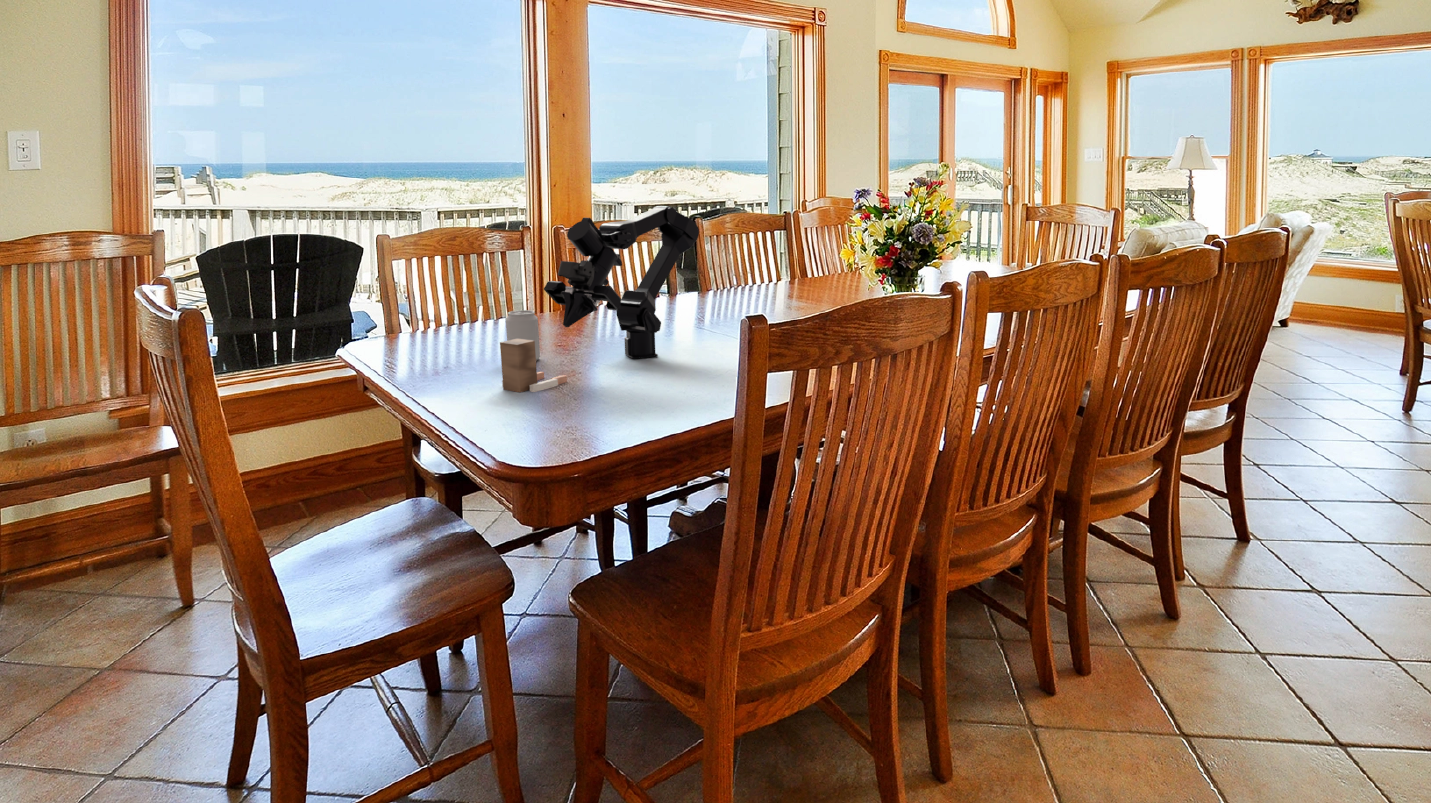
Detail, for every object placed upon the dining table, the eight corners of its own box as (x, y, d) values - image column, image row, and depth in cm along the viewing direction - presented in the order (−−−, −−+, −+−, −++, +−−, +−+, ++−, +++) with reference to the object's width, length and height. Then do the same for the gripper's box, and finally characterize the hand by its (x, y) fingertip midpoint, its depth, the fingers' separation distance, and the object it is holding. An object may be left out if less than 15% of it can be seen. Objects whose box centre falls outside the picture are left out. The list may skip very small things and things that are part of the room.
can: (533, 365, 224) (530, 314, 221) (503, 364, 226) (499, 313, 223) (545, 358, 231) (542, 309, 228) (515, 357, 233) (512, 308, 230)
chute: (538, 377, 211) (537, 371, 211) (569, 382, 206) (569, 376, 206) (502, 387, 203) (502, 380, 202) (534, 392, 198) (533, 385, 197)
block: (520, 384, 204) (517, 338, 202) (537, 387, 201) (534, 340, 199) (503, 389, 200) (499, 342, 198) (520, 392, 197) (516, 344, 195)
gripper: (546, 245, 214) (514, 301, 209) (609, 248, 204) (577, 307, 198) (573, 275, 223) (542, 330, 217) (635, 280, 212) (604, 338, 206)
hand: (565, 326), depth 209 cm, fingers closed
